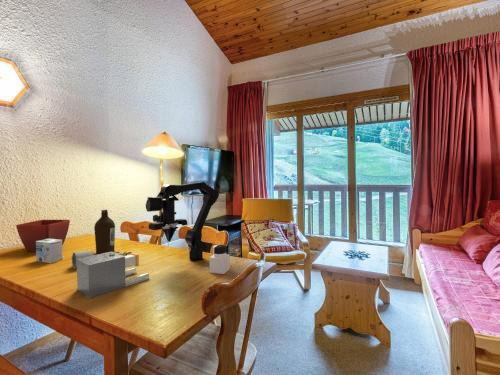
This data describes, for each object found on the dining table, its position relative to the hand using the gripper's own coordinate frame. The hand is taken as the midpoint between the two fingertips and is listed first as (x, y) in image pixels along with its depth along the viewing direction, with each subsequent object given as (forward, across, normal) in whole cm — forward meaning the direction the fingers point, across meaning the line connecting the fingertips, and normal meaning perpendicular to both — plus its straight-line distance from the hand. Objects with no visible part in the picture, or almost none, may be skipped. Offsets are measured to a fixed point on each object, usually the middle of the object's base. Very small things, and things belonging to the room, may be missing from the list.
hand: (168, 241), depth 127 cm
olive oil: (+12, +9, -50) cm, 52 cm away
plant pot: (+12, +29, -88) cm, 93 cm away
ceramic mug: (+12, +27, -34) cm, 45 cm away
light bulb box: (+12, +34, -58) cm, 68 cm away
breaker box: (+12, +27, +2) cm, 30 cm away
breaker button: (+7, +24, +2) cm, 25 cm away
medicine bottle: (+12, -10, +25) cm, 30 cm away
